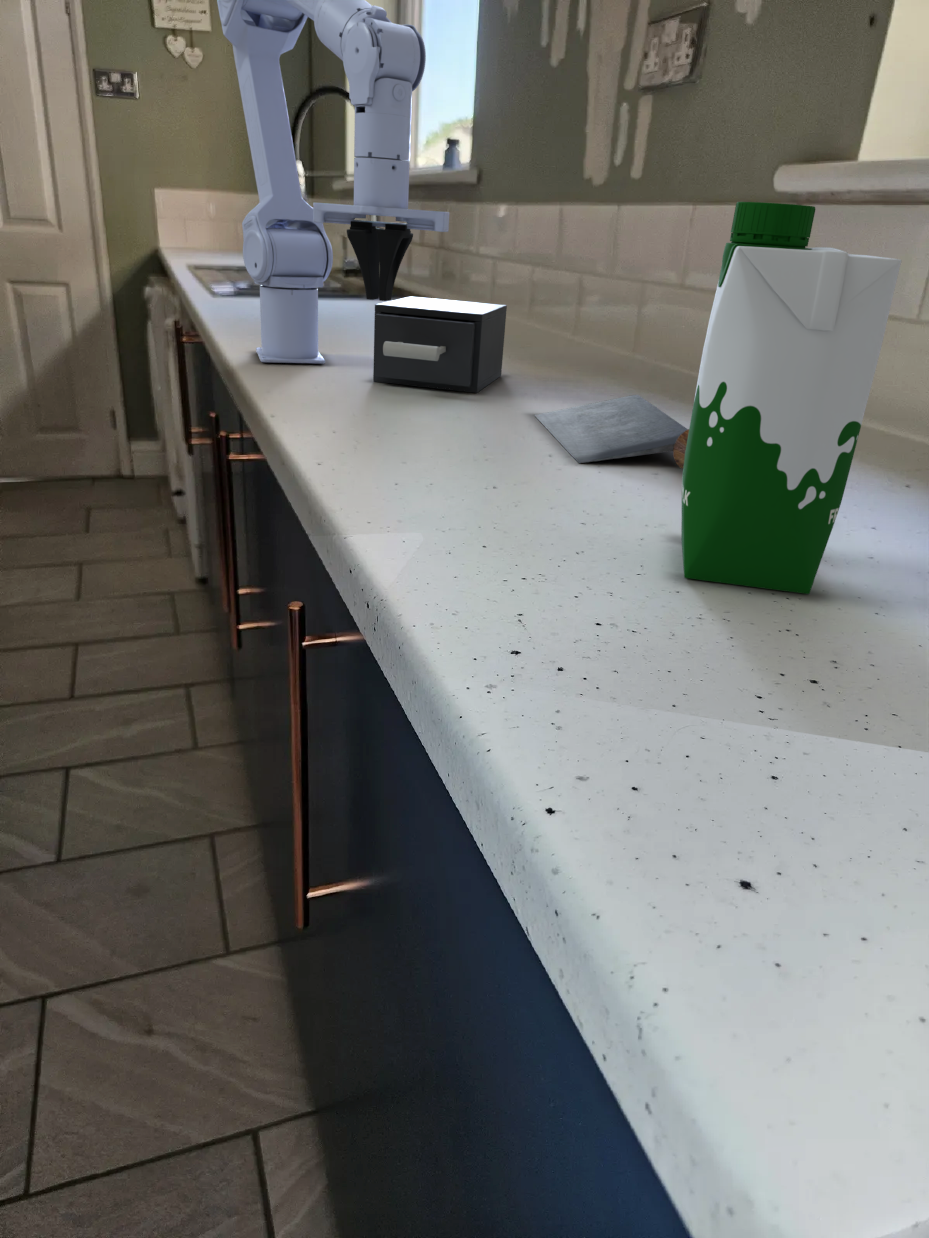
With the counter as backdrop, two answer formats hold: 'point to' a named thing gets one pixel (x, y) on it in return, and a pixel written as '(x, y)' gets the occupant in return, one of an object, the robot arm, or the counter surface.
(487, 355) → the small drawer unit
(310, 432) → the counter surface
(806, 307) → the milk carton
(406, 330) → the dark drawer box
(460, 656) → the counter surface
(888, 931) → the counter surface
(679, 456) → the meat cleaver
